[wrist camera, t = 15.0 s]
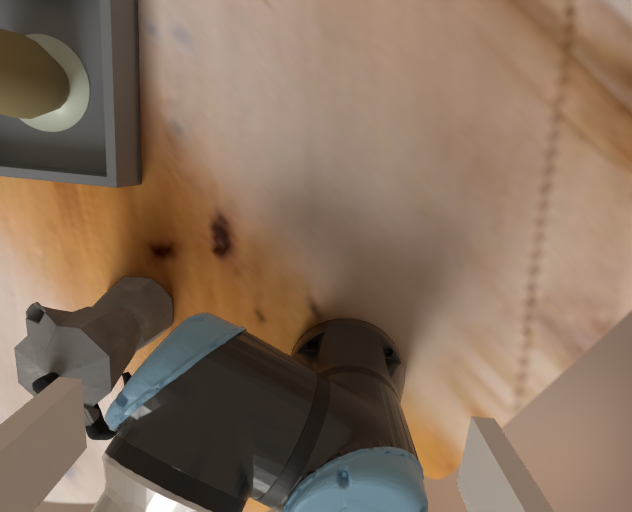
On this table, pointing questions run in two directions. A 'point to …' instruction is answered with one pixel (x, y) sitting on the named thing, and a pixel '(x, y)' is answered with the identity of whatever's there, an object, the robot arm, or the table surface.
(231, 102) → the table surface
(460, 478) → the robot arm
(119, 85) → the bin
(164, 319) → the coffeepot
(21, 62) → the squeeze bottle
